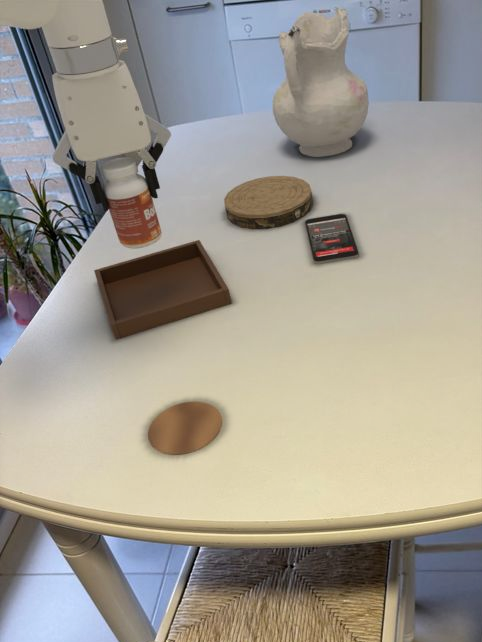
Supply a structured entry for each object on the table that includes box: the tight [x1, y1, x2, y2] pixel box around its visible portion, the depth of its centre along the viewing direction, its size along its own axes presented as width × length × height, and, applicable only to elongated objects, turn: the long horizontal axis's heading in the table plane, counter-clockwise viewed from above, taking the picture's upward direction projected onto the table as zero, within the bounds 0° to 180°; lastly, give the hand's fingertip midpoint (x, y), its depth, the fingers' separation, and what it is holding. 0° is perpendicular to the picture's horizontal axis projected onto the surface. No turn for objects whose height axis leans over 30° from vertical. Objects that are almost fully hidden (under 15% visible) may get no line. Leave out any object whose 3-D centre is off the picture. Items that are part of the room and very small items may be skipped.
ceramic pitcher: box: [272, 6, 370, 158], centre depth 128 cm, size 22×20×25 cm
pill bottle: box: [100, 156, 163, 250], centre depth 90 cm, size 6×6×11 cm
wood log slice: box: [223, 175, 314, 230], centre depth 117 cm, size 16×16×3 cm
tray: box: [94, 239, 233, 341], centre depth 100 cm, size 18×18×3 cm
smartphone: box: [304, 213, 360, 265], centre depth 107 cm, size 7×1×15 cm
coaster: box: [147, 401, 223, 456], centre depth 78 cm, size 9×9×1 cm
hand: (129, 199), depth 90 cm, fingers closed on pill bottle, 6 cm apart
